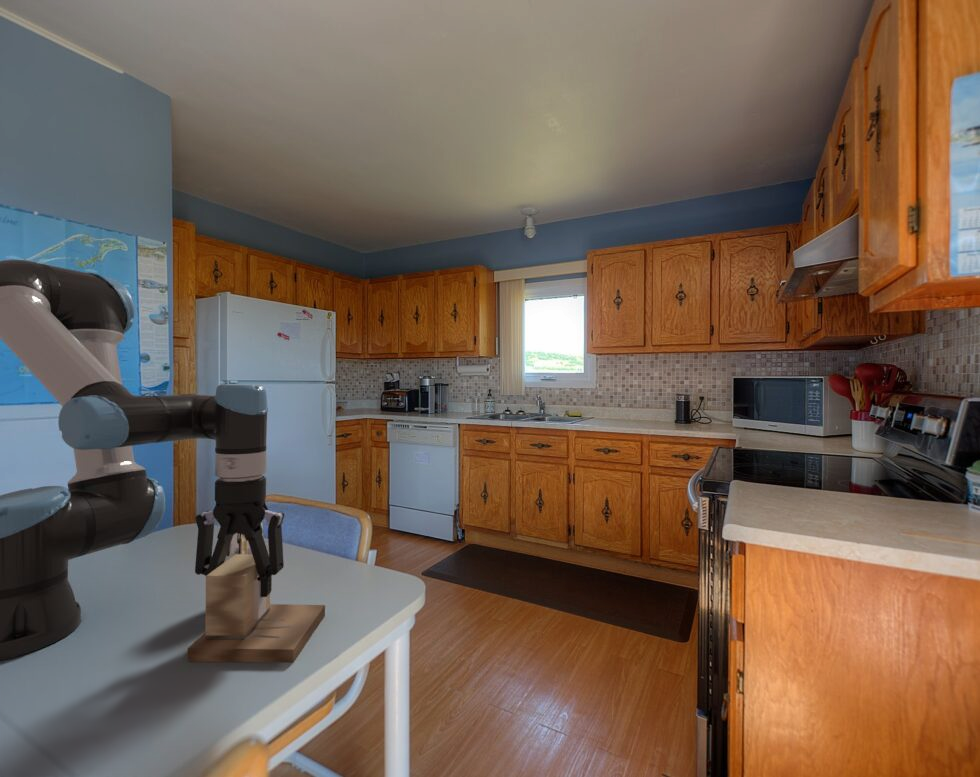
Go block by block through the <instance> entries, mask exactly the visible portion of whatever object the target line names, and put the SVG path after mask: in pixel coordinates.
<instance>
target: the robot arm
mask: <svg viewBox="0 0 980 777" xmlns="http://www.w3.org/2000/svg"><path fill="white" fill-rule="evenodd" d="M135 316H136V310H135V303H134V301H133V297H132V295H131V292H130V291H129V290H128V289H127V288H126V286H125V285H124V284H122V283H121V282H119V281H118V280H115V279H114V278H110V277H106V276H103V275H100V274H98V273H94V272H83V271H80V270H75V269H68V268H64V267H59V266H54V265H50V264H49V265H48V264H45V263H39V262H35V261H31V260H26V259H6V260H5V259H4V260H0V340H1V341H2V342H3V343H4V344H5V346H7V347H8V349H9V350H10V351H11V352H12V353H13V354H14V355H15V356H16V358H18V359H19V361H20V362H21V363H22V364H23V365H24V366H25V367H26V368H27V369H28V370H29V371H30V372H31V374H33V376H34V377H35V378H36V379H37V380H38V381H39V383H41V385H42V386H43V387H44V388H45V389H46V390H47V391H48V392H49V393H50V395H51V396H52V397H53V398H54V399H55V400H56V401H57V402H58V403H59V404H60V406H62V407H61V409H60V410H59V415H58V421H57V422H58V430H59V431H60V432H61V439H62V440H63V441H64V443H65V444H66V445H67V446H69V447H70V448H71V449H73V454H74V461H75V468H76V472H75V474H74V476H72V477H71V478H70V480H68V481H67V487H65V486H61V485H46V486H45V485H44V486H39V487H35V488H30V487H29V488H26V489H21V490H15V491H11V492H8V493H4V494H0V661H3V660H7V659H11V658H15V657H19V656H23V655H25V654H29V653H31V652H34V651H35V652H36V651H37V650H40V649H42V648H45V647H47V646H49V645H52V644H53V643H56V642H58V641H60V640H62V639H64V638H66V637H68V636H69V635H70V634H71V633H73V632H74V631H75V630H76V629H77V628H79V626H80V625H81V622H82V608H81V605H80V603H79V602H78V601H76V597H75V594H74V591H73V588H72V586H71V584H70V582H69V561H70V560H72V559H76V558H79V557H83V556H86V555H89V554H93V553H96V552H99V551H103V550H107V549H110V548H114V547H116V546H121V545H127V544H130V543H133V542H134V541H135V540H138V539H141V538H145V537H146V536H149V535H150V534H152V533H153V532H154V531H155V530H156V529H157V528H158V526H159V524H160V522H162V519H163V517H164V514H165V510H166V495H165V494H166V493H165V490H164V488H163V486H162V485H160V482H159V481H158V480H157V479H155V478H153V477H152V478H151V477H148V476H147V470H146V468H145V467H144V466H142V465H140V464H138V463H137V462H135V456H134V451H133V450H134V449H133V446H141V445H147V444H148V445H149V444H157V443H166V442H175V441H186V440H198V439H199V440H200V439H201V440H202V439H203V440H204V439H205V440H215V448H214V451H215V452H214V454H215V456H214V457H215V458H214V459H215V460H214V461H215V462H214V464H215V466H214V467H215V468H214V474H215V475H214V476H215V477H216V478H218V479H216V481H215V482H214V501H215V505H214V507H213V510H211V511H210V510H206V511H204V512H202V513H199V514H197V515H195V517H194V519H195V522H196V525H197V529H198V530H197V540H196V542H197V543H196V554H195V565H194V566H195V567H194V573H195V574H196V575H197V576H198V575H203V576H205V577H206V576H207V575H208V574H209V573H211V572H212V571H213V570H215V569H216V568H218V567H219V566H220V565H222V564H223V563H224V561H225V558H226V555H227V552H228V549H229V546H230V543H231V540H232V537H233V535H234V534H236V533H239V534H244V535H245V539H246V540H247V541H248V542H249V545H250V549H251V552H252V555H253V558H254V562H255V565H256V568H257V571H258V575H259V576H258V577H257V578H256V579H255V580H254V619H259V618H260V617H261V616H262V615H263V614H264V613H265V612H266V597H267V596H268V595H269V594H270V595H271V592H272V578H273V577H272V576H275V575H277V574H278V573H279V572H280V571H281V570H283V569H284V564H285V563H284V547H283V545H284V544H283V530H282V524H283V521H284V517H285V513H284V512H283V511H278V512H276V511H273V510H269V508H268V506H267V503H266V497H267V478H266V477H265V475H266V473H267V433H268V432H267V429H268V428H267V426H268V423H267V421H268V411H269V408H268V401H267V390H266V388H265V387H264V386H263V385H260V384H225V383H224V384H219V385H217V386H216V388H215V395H208V394H196V393H195V394H194V393H181V394H175V395H173V394H172V395H169V394H168V395H135V394H132V393H131V392H130V391H129V390H128V389H127V388H126V387H125V386H124V385H123V381H122V374H121V368H120V361H119V356H118V350H117V349H118V348H117V346H118V345H119V344H120V343H122V342H123V340H124V339H125V334H126V333H127V332H128V331H130V329H131V328H132V326H133V325H134V321H133V319H134V318H135ZM264 519H265V520H266V525H267V527H268V528H267V541H268V548H267V545H266V543H265V542H266V541H265V539H264V538H263V537H264V529H263V530H262V526H261V522H262V521H263V520H264ZM216 521H217V523H218V524H219V526H220V527H219V530H218V533H217V537H216V538H217V540H216V541H217V542H216V544H215V547H214V549H213V545H214V535H215V534H214V532H215V531H214V530H215V522H216ZM262 533H263V535H262ZM268 554H269V555H268Z"/></svg>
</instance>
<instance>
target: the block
mask: <svg viewBox="0 0 980 777" xmlns="http://www.w3.org/2000/svg"><path fill="white" fill-rule="evenodd" d="M268 555H269V553H268ZM258 576H259V575H258V571H257V568H256V565H255V562H254V558H253V555H252V554H235V555H234V556H233V557H231V558H230V559H229V560H227V561H226V562H224V563H223V564H222V565H220V566H219V567H218V568H216V569H215V570H213V571H212V572H211V573H209V574H208V575H207V576H205V629H204V630H205V632H204V633H205V639H245V638H246V637H247V636H248V634H249V633H250V632H251V631H252V630H253V629H254V628H255V627H256V625H257V624H258V623H259V622H260V621H261V620H262V619H263V618H264V616H265V615H266V614H267V613H268V612H269V611H270V604H271V593H270V594H269V595H268V596H267V597H266V612H265V613H264V614H263V615H262V616H261V617H260V618H259V619H254V580H255V579H256V578H257V577H258Z"/></svg>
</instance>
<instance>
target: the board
mask: <svg viewBox="0 0 980 777" xmlns="http://www.w3.org/2000/svg"><path fill="white" fill-rule="evenodd" d="M325 617H326V604H286V603H285V604H281V603H280V604H279V603H277V604H276V603H273V604H272V603H270V611H269V612H268V613H267V614H266V615H265V616H264V618H263V619H262V620H261V621H260V622H259V623H258V624H257V625H256V627H255V628H254V629H253V630H252V631H251V632H250V633H249V634H248V636H247V637H246V638H245V639H205V632H204V633H203V634H202V635H201V636H199V637H198V638H197V639H196V640H195V641H194V642H193V643H192V644H190V645H189V646H188V647H187V653H186V654H187V655H186V656H187V659H186V660H187V662H206V663H207V662H214V663H215V662H216V663H217V662H218V663H219V662H220V663H222V662H224V663H228V662H230V663H293V664H294V662H295V661H296V660H297V658H298V656H299V655H300V653H301V652H302V651H303V649H304V648H305V646H306V645H307V643H308V642H309V640H310V639H311V638H312V635H313V634H314V633H315V631H316V630H317V629H318V627H319V626H320V624H321V623H322V621H323V620H324V618H325Z"/></svg>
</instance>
